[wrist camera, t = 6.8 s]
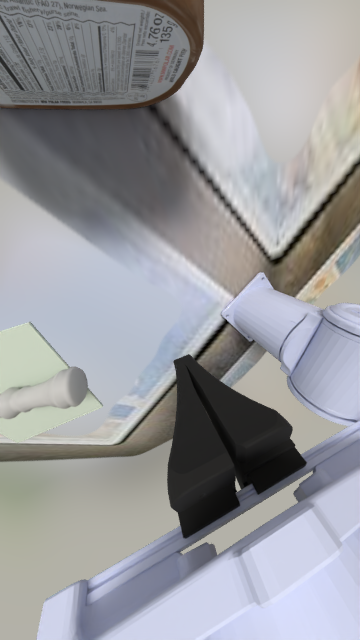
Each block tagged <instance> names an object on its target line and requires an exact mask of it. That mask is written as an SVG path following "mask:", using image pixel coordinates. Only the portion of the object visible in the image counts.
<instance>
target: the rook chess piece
mask: <svg viewBox="0 0 360 640" xmlns="http://www.w3.org/2000/svg"><path fill="white" fill-rule="evenodd" d="M87 387H88V385H87V379H86V375H85V373H84V372H83V370H81V369H80V368H77V367H70V368H69V369H63V370H61V371H59V372H58V373H57V374H56V375H55V376H53V377H51V378H50V379H49V380H47V381H45V382H42V383H40V384H37V385H34V386H30V385H28V386H24V387H23V388H21V389H20V388H17V387H11V388H8V389H7V390H5V391H4V392H3V393H1V394H0V418H4V419H12V418H15V417H16V416H17V415H19V414H20V413H21V412H24V413H26V412H29V411H31V410H32V409H34V408H38V407H45V406H52V407H58V408H61V409H67V408H69V407H71V406H72V407H76V406H78V405H80V404H81V403H82V401H83V400H84V399H85V397H86V394H87Z"/></svg>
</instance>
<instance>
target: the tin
mask: <svg viewBox="0 0 360 640" xmlns="http://www.w3.org/2000/svg"><path fill="white" fill-rule="evenodd" d="M203 40H204V0H0V108H27V109H131V108H139V107H144V106H148V105H152V104H155V103H158V102H160V101H162V100H164V99H166V98H168V97H170V96H171V95H173V94H174V93H176V92H177V91H178V90H179V89H180V88H181V86H182V85H183V84H184V82H185V80H186V79H187V78H188V76H189V75H190V74H191V72H192V71H193V69H194V68H195V66H196V64H197V62H198V60H199V57H200V55H201V52H202V49H203Z"/></svg>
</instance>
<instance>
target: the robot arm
mask: <svg viewBox="0 0 360 640" xmlns="http://www.w3.org/2000/svg"><path fill="white" fill-rule="evenodd" d="M261 279H262V280H261ZM221 315H222V316H223V317H224V318H225V319H226V320H227V321H228V322H229V323H230V324H231V325H232V326H234V327H235V328H236V329H237V330H238V331H239V332H240V333H241V334H242V335H243V336H244V337H245V338H246V339H248V340H249V341H253V340H255V341H256V342H257V343H258V344H259V345H261V346H262V347H263V348H264V349H265V350H267V351H268V352H269V353H270V354H272V355H273V356H274V357H275V358H276V359H278V360H279V361H280V362H281V363H282V365H281V367H280V369H281V370H282V371H283V372H285V373H286V374H287V375H288V376H287V384H288V387H289V389H290V391H291V392H292V393H293V395H294V396H295V397H296V398H297V399H298V400H299V401H300V402H301V403H302V404H303V405H304V406H305V407H307V408H308V409H309V410H311V411H312V412H314V413H315V414H317V415H319V416H320V417H322V418H324V419H327V420H329V421H331V422H334V423H338V424H342V425H345V426H349V427H347V428H345V429H343V430H342V431H340V432H338V433H337V434H335V435H333V436H332V437H330V438H328V439H327V440H325V441H323V442H321V443H320V444H318V445H316V446H315V447H313V448H311V449H310V450H308V451H306V452H304V453H303V454H300V453H299V452H298V451H297V449H296V448H295V444H294V443H293V441H292V440H291V439H290V436H291V434H292V426H291V425H290V424H289V423H288V421H287V420H286V419H284V417H282V416H281V415H280V414H279V413H278V412H277V411H276V410H274V409H271V408H268V407H266V406H264V405H262V404H260V403H258V402H255V401H253V400H251V399H249V398H247V397H246V396H244V395H242V394H240V393H238V392H236V391H235V390H233V389H231V388H230V387H228V386H227V385H225V384H224V383H222V382H221V381H219V380H218V379H216V378H215V377H214V376H212V375H211V374H210V373H209V372H207V371H206V370H205V369H204V368H203V367H202V366H201V365H199V364H198V363H197V362H196V361H195V360H194V359H193V357H192V356H191V355H189V354H188V355H186V356H184V357H181V358H179V359H176V360H174V365H175V370H176V377H177V411H176V421H175V429H174V436H173V442H172V448H171V453H170V457H169V462H168V479H167V481H168V482H167V483H168V495H169V500H170V505H171V508H173V509H174V510H175V511H176V512H178V516H179V520H180V525H181V526H179V527H177V528H176V529H174V530H172V531H170V532H169V533H167V534H165V535H164V536H162V537H160V538H159V539H157V540H155V541H154V542H152V543H150V544H148V545H147V546H145V547H143V548H142V549H140V550H138V551H137V552H135V553H133V554H132V555H130V556H128V557H126V558H125V559H123V560H121V561H120V562H118V563H116V564H114V565H113V566H111V567H109V568H108V569H106V570H105V571H103V572H101V573H99V574H98V575H96V576H94V577H92V578H91V579H89V580H80V581H78V582H75V583H73V584H71V585H69V586H68V587H66V588H64V589H63V590H61V591H59V592H57V593H56V594H54V595H52V596H50V597H49V598H47V599H46V600H45V602H44V605H43V609H42V614H41V619H40V624H39V629H38V634H37V639H36V640H360V305H358V304H352V303H339V304H336V305H331V306H328V307H326V308H325V310H324V309H321V308H319V307H316V306H314V305H311V304H309V303H306V302H304V301H301V300H299V299H296V298H294V297H291V296H289V295H286V294H284V293H281V292H278V291H276V290H274V289H273V287H272V286H271V284H270V282H269V281H268V279H267V278H266V276H265V274H264V273H262V272H260V273H258V274H257V276H256V277H255V278H254V279H253V280H252V281H251V282H250V283H249V284H248V285H247V286H246V287H245V288H244V289H243V290H242V291H241V292H240V294H239V295H238V296H237V297H236V298H235V299H234V300H233V301H232V302H231V303H230V304H229V305H228V306H227V307H226V308H225V309H224V310H223V312H222V313H221ZM226 315H227V316H226ZM203 406H204V407H203ZM204 408H205V409H204ZM205 410H206V411H205ZM206 412H207V413H206ZM207 414H208V415H207ZM208 416H209V417H208ZM209 418H210V419H209ZM311 471H313V474H312V475H311V476H309V477H308V478H307V479H306V480H304V481H303V482H302V483H300V484H299V487H298V488H297V490H295V491H294V496H295V497H296V499H297V500H298V503H297V504H296V505H294V506H292V507H290V508H289V509H287V510H286V511H284V512H282V513H281V514H279V515H278V516H276V517H275V518H273V519H271V520H270V521H268V522H267V523H265V524H264V525H262V526H261V527H259V528H258V529H256V530H254V531H253V532H251V533H250V534H248V535H247V536H245V537H244V538H243V539H241V540H239V541H238V542H236V543H235V544H233V545H232V546H230V547H229V548H228V549H226V550H225V551H223V552H222V553H220V554H219V555H217V553H216V549H215V546H214V545H213V544H208V543H207V542H206V543H204V544H202V545H200V546H198V547H196V548H195V549H193V550H191V551H189V552H187V553H186V554H184V555H183V554H182V553H180V552H181V551H183V550H184V549H186V548H188V547H189V546H191V545H192V544H194V543H196V542H197V541H199V540H201V539H202V538H204V537H205V536H207V535H209V534H210V533H212V532H214V531H215V530H217V529H218V528H220V527H222V526H223V525H225V524H227V523H228V522H230V521H231V520H233V519H235V518H236V517H238V516H240V515H241V514H243V513H244V512H246V511H248V510H249V509H251V508H253V507H254V506H256V505H257V504H259V503H261V502H262V501H264V500H266V499H267V498H269V497H270V496H272V495H274V494H275V493H277V492H278V491H280V490H282V489H283V488H285V487H286V486H288V485H290V484H291V483H293V482H295V481H296V480H298V479H300V478H301V477H303V476H304V475H306V474H308V473H309V472H311ZM235 476H236V478H237V481H238V483H239V485H240V488H241V490H240V491H239V492H237V491H236V488H235V479H236V478H235ZM236 492H237V493H236Z"/></svg>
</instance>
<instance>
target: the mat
mask: <svg viewBox="0 0 360 640" xmlns="http://www.w3.org/2000/svg"><path fill="white" fill-rule="evenodd" d="M69 368H70V367H69V366H68V364H66V362H65V361H64V360H63V359H62V358H61V356H60V355H59V354H58V353H57V352H56V351H55V350H54V348H53V347H52V346H51V345H50V344H49V343H48V342H47V340H45V338H44V337H43V336H42V335H41V334H40V332H39V331H38V330H37V329H36V328H35V327H34V326H33V324H32V323H31V322H29V323H25V324H22V325H19V326H16V327H13V328H9V329H6V330H3V331H0V394H1V393H3V392H4V391H5V390H7V389H8V388H11V387H17V388H20V389H21V388H23V387H24V386H28V385H30V386H34V385H37V384H40V383H42V382H45V381H47V380H49V379H50V378H51V377H53V376H55V375H56V374H57V373H58V372H59V371H61V370H63V369H69ZM102 407H103V405H102V404H101V402H100V401H99V400H98V399H97V398H96V397H95V395H94V394H93V393H92V392H91V391H90V390H89V389H88V387H87V394H86V397H85V399H84V400H83V401H82V403H81V404H80V405H78V406H76V407H72V406H71V407H69V408H67V409H61V408H58V407H52V406H45V407H38V408H34V409H32V410H31V411H29V412H26V413H24V412H21V413H20V414H19V415H17V416H16V417H15V418H12V419H4V418H0V434H1V435H3V436H5V437H7V438H9V439H11V440H13V441H14V442H16V443H19V442H22V441H24V440H26V439H29V438H31V437H33V436H36V435H38V434H40V433H43V432H45V431H48V430H50V429H52V428H54V427H57V426H59V425H62V424H64V423H67V422H69V421H71V420H74V419H76V418H78V417H81V416H83V415H86V414H88V413H90V412H93V411H95V410H97V409H100V408H102Z"/></svg>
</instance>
